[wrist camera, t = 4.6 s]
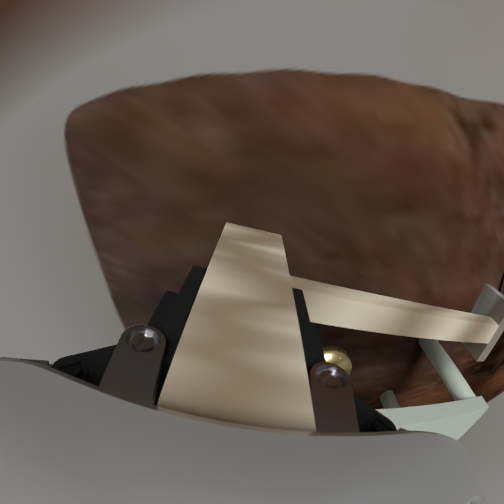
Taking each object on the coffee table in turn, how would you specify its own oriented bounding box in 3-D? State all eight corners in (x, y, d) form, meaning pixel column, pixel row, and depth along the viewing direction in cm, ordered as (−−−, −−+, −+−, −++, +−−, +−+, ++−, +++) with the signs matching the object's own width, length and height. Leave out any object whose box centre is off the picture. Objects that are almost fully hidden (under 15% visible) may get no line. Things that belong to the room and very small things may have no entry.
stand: (435, 331, 24) (488, 407, 14) (388, 399, 28) (417, 473, 18) (287, 310, 23) (308, 430, 12) (255, 393, 27) (256, 490, 16)
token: (356, 346, 25) (360, 356, 23) (335, 380, 27) (338, 390, 25) (309, 340, 24) (311, 351, 23) (291, 376, 26) (293, 387, 25)
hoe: (492, 285, 16) (594, 396, 3) (464, 336, 18) (542, 456, 5) (228, 213, 15) (113, 519, 2) (211, 293, 17) (145, 543, 4)
